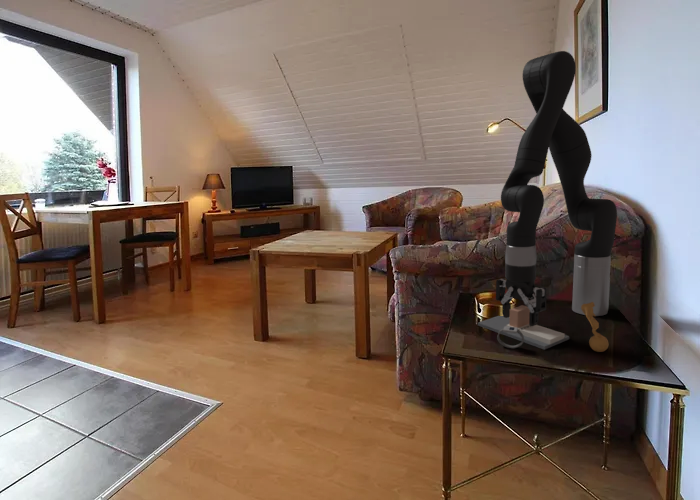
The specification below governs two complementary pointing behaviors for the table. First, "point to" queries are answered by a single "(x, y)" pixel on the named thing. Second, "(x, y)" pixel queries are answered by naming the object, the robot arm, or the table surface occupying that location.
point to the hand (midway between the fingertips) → (519, 320)
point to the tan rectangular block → (519, 317)
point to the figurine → (597, 340)
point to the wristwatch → (510, 330)
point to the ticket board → (527, 333)
